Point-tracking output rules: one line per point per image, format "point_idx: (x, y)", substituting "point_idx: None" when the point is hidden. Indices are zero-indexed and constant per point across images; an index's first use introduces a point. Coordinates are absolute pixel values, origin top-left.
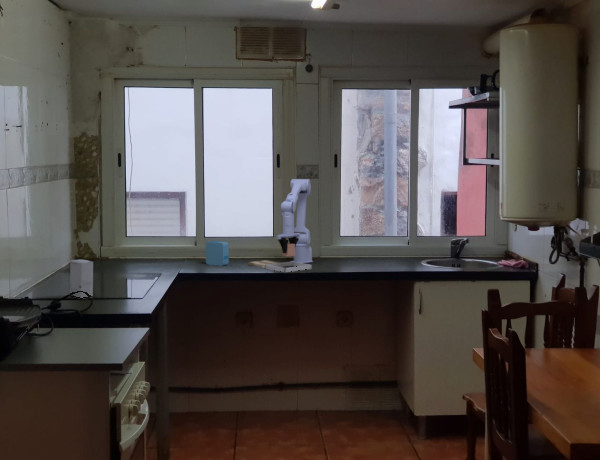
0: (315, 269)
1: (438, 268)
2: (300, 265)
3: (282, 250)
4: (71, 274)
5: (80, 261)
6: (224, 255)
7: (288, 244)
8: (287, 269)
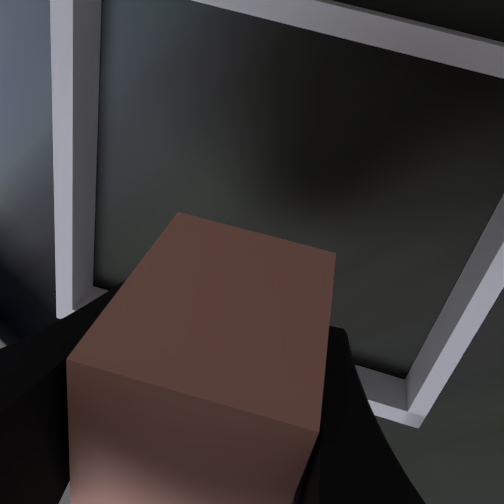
0: (401, 427)
1: None
2: (473, 269)
3: (100, 300)
4: None
5: None
6: None
7: (96, 502)
8: None
